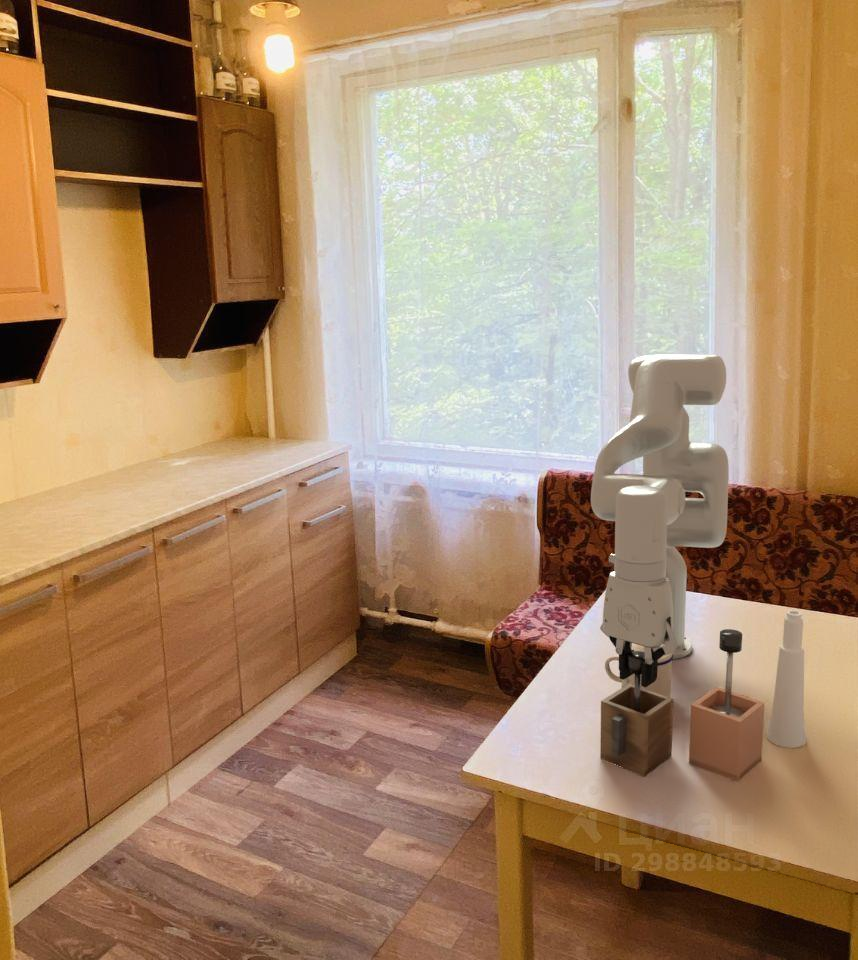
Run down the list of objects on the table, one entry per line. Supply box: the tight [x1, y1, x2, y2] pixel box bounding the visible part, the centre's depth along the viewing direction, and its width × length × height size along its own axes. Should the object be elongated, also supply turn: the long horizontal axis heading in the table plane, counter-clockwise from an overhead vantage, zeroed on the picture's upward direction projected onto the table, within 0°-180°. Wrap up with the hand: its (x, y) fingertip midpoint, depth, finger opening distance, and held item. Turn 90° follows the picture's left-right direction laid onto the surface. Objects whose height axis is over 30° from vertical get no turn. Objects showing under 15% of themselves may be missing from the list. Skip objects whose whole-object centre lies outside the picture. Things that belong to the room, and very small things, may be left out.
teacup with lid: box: [604, 643, 674, 698], centre depth 158 cm, size 12×9×12 cm
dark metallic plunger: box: [627, 651, 645, 712], centre depth 137 cm, size 6×6×14 cm
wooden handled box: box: [599, 684, 674, 778], centre depth 138 cm, size 8×10×10 cm
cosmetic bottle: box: [765, 609, 807, 749], centre depth 141 cm, size 6×6×22 cm
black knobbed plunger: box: [709, 628, 745, 718], centre depth 134 cm, size 6×6×14 cm
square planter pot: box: [688, 686, 766, 783], centre depth 137 cm, size 8×10×10 cm
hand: (637, 679), depth 137 cm, fingers closed on dark metallic plunger, 3 cm apart
